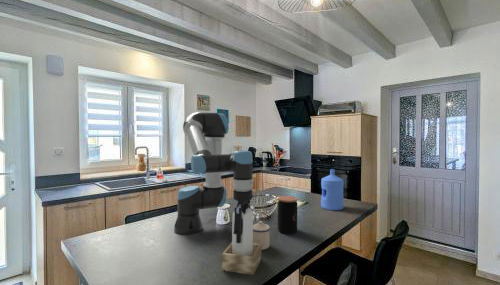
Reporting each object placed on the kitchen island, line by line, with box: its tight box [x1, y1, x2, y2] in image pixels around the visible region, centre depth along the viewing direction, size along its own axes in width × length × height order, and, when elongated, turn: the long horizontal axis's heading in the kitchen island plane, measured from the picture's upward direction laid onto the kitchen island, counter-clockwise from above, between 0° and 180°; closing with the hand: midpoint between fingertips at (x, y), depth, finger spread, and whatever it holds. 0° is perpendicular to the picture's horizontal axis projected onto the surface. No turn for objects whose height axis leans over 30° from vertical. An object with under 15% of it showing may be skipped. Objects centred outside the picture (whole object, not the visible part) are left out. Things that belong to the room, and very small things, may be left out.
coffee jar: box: [277, 195, 298, 235], centre depth 140 cm, size 11×11×18 cm
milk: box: [231, 207, 254, 257], centre depth 102 cm, size 6×6×22 cm
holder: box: [221, 241, 262, 276], centre depth 103 cm, size 13×13×6 cm
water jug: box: [320, 168, 345, 211], centre depth 186 cm, size 16×16×28 cm
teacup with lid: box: [253, 220, 271, 251], centre depth 119 cm, size 12×9×12 cm
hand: (242, 245), depth 102 cm, fingers closed on milk, 8 cm apart
